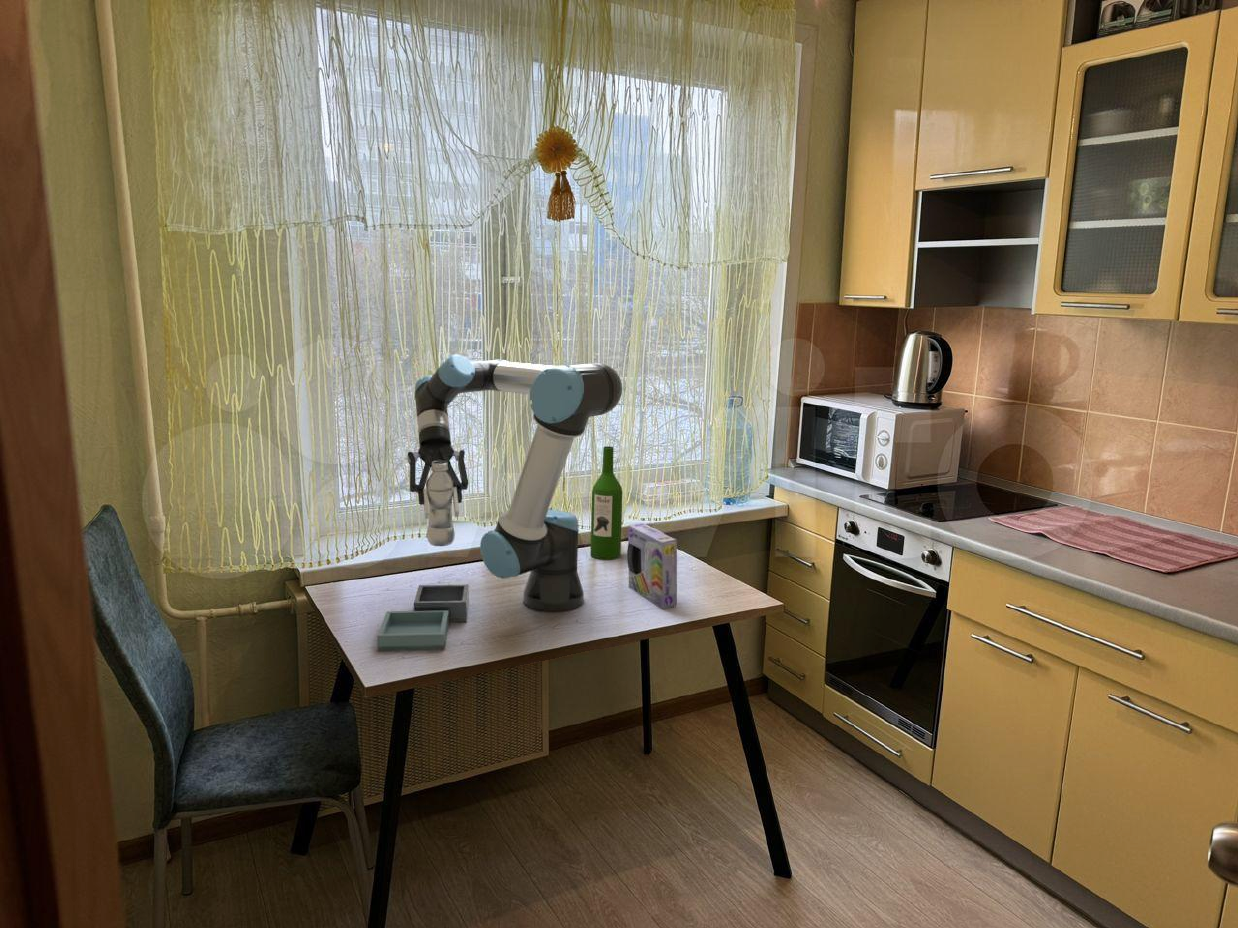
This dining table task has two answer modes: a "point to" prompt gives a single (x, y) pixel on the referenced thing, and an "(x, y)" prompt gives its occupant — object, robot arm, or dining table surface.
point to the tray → (413, 630)
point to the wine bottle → (606, 512)
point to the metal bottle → (440, 505)
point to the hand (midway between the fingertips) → (442, 514)
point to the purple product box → (652, 564)
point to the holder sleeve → (444, 600)
